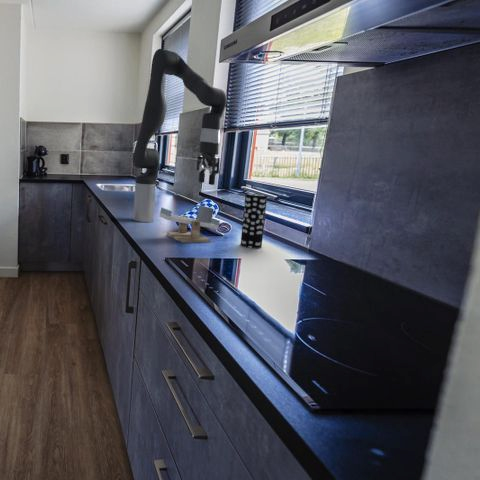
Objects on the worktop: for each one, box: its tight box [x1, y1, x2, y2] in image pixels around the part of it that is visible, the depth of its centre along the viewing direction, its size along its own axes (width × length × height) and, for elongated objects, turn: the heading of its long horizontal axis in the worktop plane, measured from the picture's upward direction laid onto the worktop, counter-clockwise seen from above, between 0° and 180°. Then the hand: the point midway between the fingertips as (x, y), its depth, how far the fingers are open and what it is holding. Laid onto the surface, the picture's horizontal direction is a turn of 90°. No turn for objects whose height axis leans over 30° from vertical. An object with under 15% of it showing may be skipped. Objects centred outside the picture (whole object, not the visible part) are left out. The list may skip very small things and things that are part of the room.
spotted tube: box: [239, 192, 268, 249], centre depth 167 cm, size 8×8×20 cm
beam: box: [159, 207, 221, 230], centre depth 169 cm, size 9×22×4 cm, turn 122°
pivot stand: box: [166, 215, 211, 244], centre depth 170 cm, size 14×12×8 cm
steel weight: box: [195, 204, 215, 223], centre depth 172 cm, size 4×4×6 cm
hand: (206, 183), depth 169 cm, fingers open, 8 cm apart
